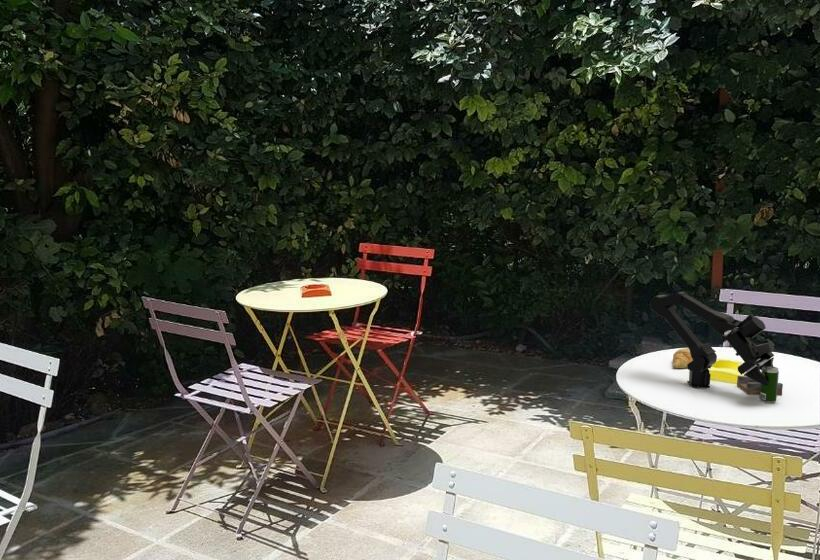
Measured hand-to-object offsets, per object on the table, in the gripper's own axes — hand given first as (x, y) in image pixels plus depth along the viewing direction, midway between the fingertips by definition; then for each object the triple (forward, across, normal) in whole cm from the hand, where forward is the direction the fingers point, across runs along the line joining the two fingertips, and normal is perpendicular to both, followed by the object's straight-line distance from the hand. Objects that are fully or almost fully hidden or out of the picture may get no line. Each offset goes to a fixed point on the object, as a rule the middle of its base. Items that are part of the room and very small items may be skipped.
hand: (772, 382), depth 251 cm
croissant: (-25, +24, +35) cm, 49 cm away
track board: (-1, +10, +10) cm, 15 cm away
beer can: (+4, 0, +6) cm, 7 cm away
